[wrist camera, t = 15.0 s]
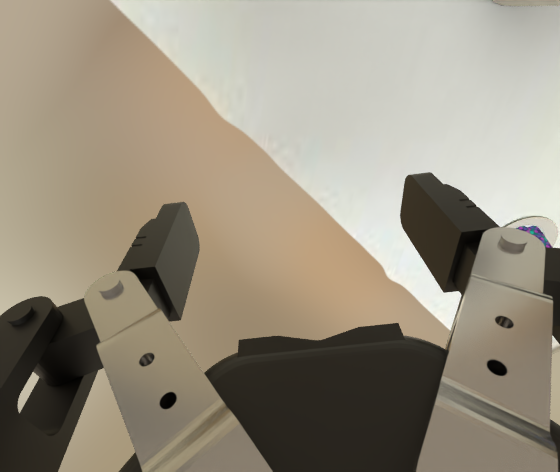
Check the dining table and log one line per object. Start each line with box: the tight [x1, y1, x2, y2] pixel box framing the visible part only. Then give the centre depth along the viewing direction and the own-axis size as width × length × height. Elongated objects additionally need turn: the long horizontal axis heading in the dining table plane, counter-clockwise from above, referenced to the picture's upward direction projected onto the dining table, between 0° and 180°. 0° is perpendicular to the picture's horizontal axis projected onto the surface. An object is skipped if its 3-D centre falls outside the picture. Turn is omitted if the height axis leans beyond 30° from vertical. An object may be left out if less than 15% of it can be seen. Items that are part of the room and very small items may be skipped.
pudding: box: [506, 217, 558, 248], centre depth 51 cm, size 12×12×5 cm
